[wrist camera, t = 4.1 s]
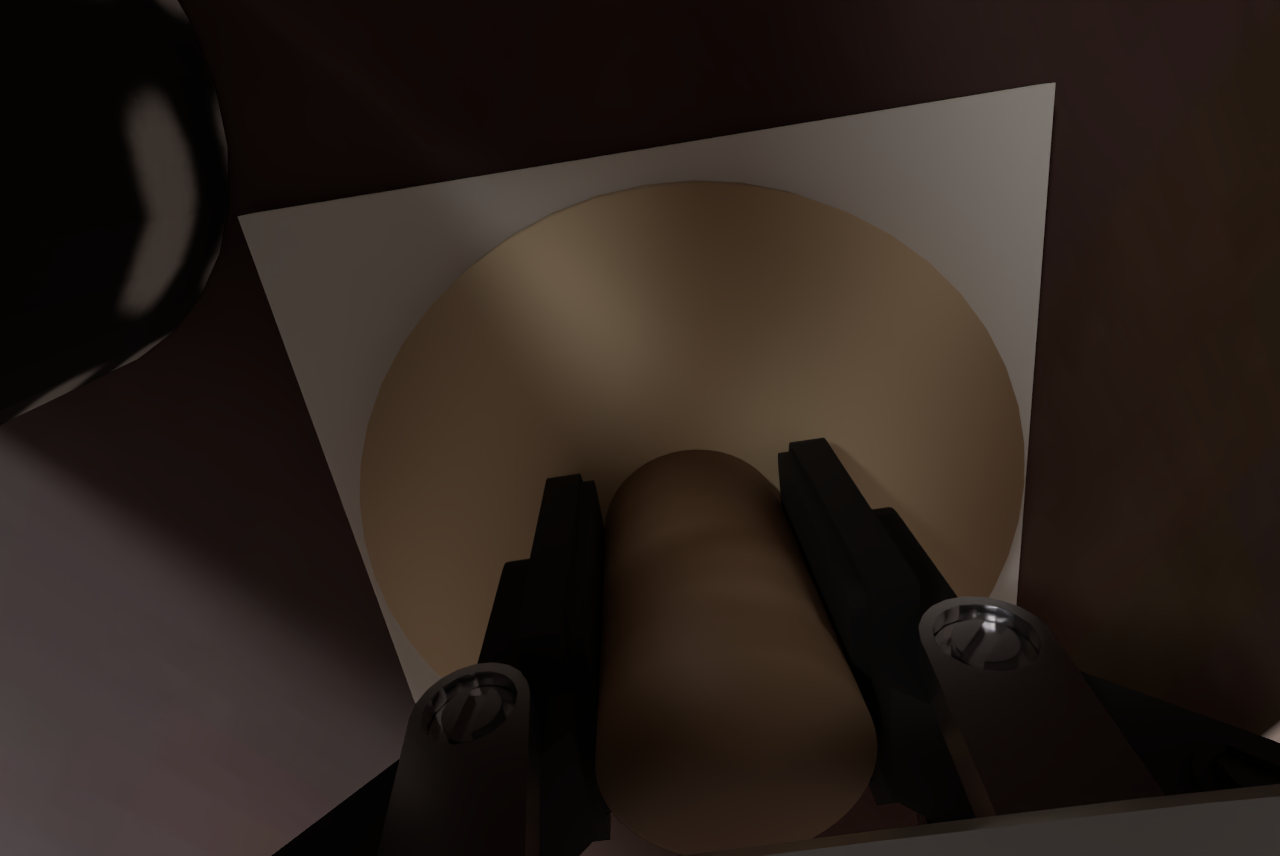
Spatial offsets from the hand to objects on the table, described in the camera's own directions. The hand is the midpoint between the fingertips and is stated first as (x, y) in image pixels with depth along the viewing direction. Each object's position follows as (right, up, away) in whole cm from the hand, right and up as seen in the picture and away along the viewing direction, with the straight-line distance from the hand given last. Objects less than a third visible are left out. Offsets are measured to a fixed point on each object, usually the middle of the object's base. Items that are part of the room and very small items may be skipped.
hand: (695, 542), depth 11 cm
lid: (0, 0, +1) cm, 1 cm away
